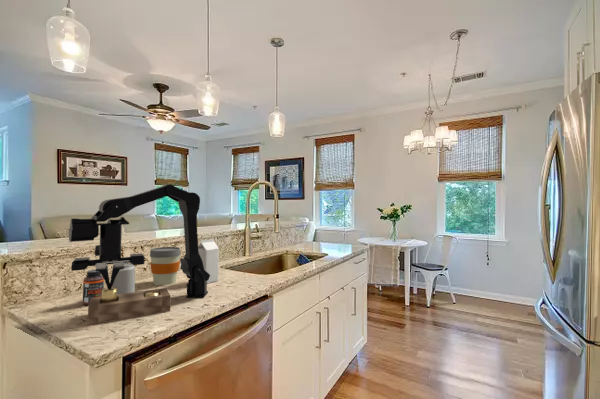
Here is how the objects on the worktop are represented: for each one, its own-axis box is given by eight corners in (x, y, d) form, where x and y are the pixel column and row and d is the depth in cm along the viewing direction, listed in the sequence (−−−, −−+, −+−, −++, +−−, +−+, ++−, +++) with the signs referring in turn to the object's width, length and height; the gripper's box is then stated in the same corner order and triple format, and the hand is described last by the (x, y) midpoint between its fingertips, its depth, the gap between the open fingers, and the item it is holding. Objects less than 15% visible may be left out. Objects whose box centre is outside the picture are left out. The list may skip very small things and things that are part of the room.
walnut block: (166, 301, 103) (166, 287, 103) (170, 310, 94) (170, 295, 94) (90, 313, 91) (90, 297, 91) (87, 325, 83) (88, 307, 83)
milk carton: (218, 280, 131) (219, 239, 132) (205, 284, 125) (206, 241, 126) (208, 278, 135) (208, 238, 136) (195, 281, 129) (196, 239, 130)
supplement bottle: (87, 306, 97) (87, 273, 97) (79, 303, 100) (80, 271, 100) (106, 301, 102) (107, 270, 102) (98, 298, 105) (99, 268, 105)
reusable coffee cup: (165, 277, 136) (166, 246, 136) (186, 280, 131) (186, 247, 131) (142, 284, 124) (143, 249, 124) (164, 288, 119) (165, 252, 120)
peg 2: (157, 305, 99) (158, 290, 99) (159, 309, 95) (159, 294, 95) (144, 307, 97) (144, 292, 97) (145, 311, 93) (145, 296, 93)
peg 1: (116, 301, 92) (117, 286, 92) (116, 305, 89) (117, 289, 89) (101, 304, 90) (102, 288, 90) (101, 308, 87) (101, 291, 87)
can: (123, 299, 105) (124, 266, 105) (106, 297, 106) (107, 265, 106) (139, 293, 112) (139, 262, 112) (123, 291, 114) (123, 261, 114)
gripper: (142, 235, 102) (141, 279, 101) (76, 238, 92) (75, 286, 91) (145, 238, 92) (144, 287, 92) (71, 242, 82) (70, 296, 82)
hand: (109, 288), depth 90 cm, fingers closed, pressing on peg 1
